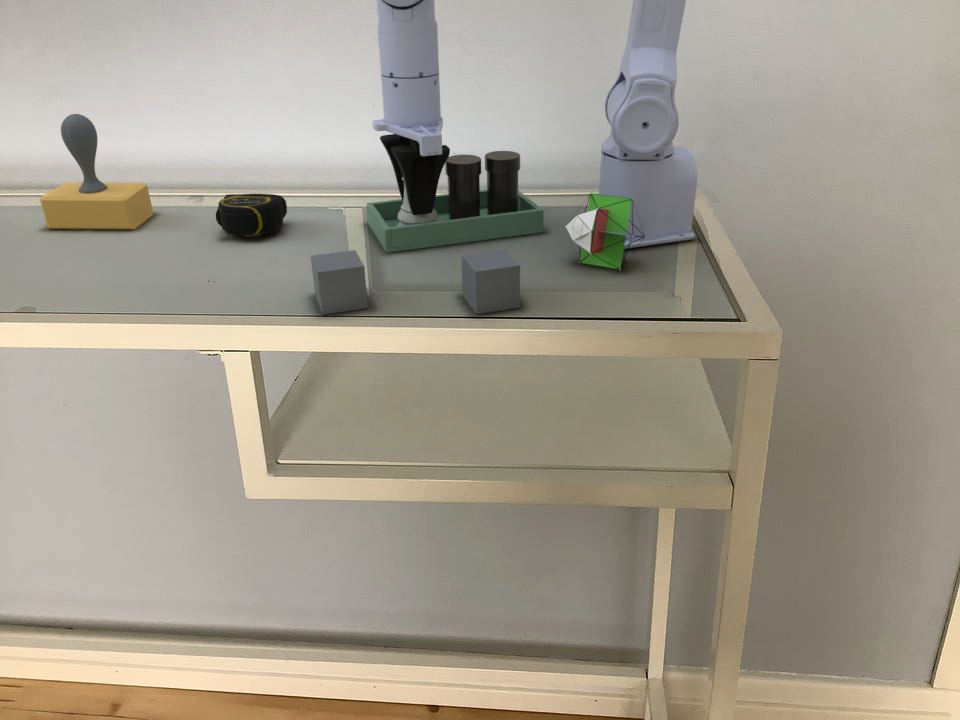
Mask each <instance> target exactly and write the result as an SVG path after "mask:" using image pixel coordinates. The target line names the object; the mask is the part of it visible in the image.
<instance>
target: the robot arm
mask: <svg viewBox="0 0 960 720" xmlns="http://www.w3.org/2000/svg"><path fill="white" fill-rule="evenodd" d="M376 1H377V4H376V10H377V16H378V17H377V18H378V23H377V37H378V49H379V51H378V53H379V66H380V68H379V69H380V79H381V94H382V109H383V110H382V111H383V118H381V119H375V120H372V128H373V129H374V131H375V132H385V131H386V132H387V133H391V134H384V135H380V137H379V140H380V142H381V144H382V145H383V147H384V149H385V151H386V153H387V155H388V158H389V160H390V162H391V165H392V168H393V172H394V176H395V179H396V184H397V187H398V192H399V194H400V199H402V201H403V200H404V182H405V187H406V192H407V197H408V202H409V206H410V209H411V212H412V214H413V215H420V214H428V213H432V211H433V208H434V203H435V197H436V195H437V190H438V186H439V182H440V181H439V180H440V177H441V175H442V171H443V169H444V167H445V162H446V160H447V159H448V157H450V153H451V148H450V147H449V146H448V145H446V144H443V134H442V131H443V127H444V118H443V117H442V114H441V113H442V111H441V110H442V109H441V87H440V84H441V83H440V61H439V60H440V59H439V36H438V35H439V34H438V22H437V19H436V6H435V0H376ZM686 2H687V0H632V7H631V13H630V17H629V18H630V20H629V26H628V32H627V38H626V43H625V48H624V49H623V54H622V57H621V60H620V66H619V72H618V75H617V77H616V79H615V82H614V83H613V85H611V87H610V89H609V91H608V92H607V94H606V97H605V102H604V112H605V117H606V120H607V122H608V124H609V125H610V131H611V132H610V134H609V135H608V137H607V138H606V139H605V140H604V141H603V142H602V143H601V145H600V146H601V147H600V148H601V150H600V167H599V182H598V184H599V185H598V194H600V195H608V196H615V197H623V198H630V199H631V198H633V201H632V203H631V209H630V215H629V220H630V221H631V222H632V206H633V224H634V225H635V226H636V227H637V228H638V229H639V230H640V231H641V232H642V233H643V232H644V233H643V234H644V235H645V236H646V237H644V239H643V238H642V237H633V238H630V237H632V236H626V238H625V239H627V238H629V239H627V240H625V244H624V246H625V247H624V250H627V249H628V247H629V249H633V248H636V247H637V246H638V247H637V248H641V247H648V246H655V245H661V244H662V245H663V244H668V243H676V242H684V241H690V240H691V241H692V240H694V239H695V237H696V234H695V233H693V232H692V230H693V222H694V221H693V220H694V211H695V204H696V203H695V202H696V196H697V195H696V194H697V187H698V186H697V185H698V169H697V165H696V163H697V162H696V160H695V158H694V156H693V154H692V153H691V151H690V150H689V149H688V148H686V147H684V146H678V145H677V146H675V145H674V143H673V141H674V140H675V138H676V136H677V133H678V131H679V124H680V118H679V117H680V116H679V112H678V109H677V106H676V102H675V101H676V100H675V92H676V86H677V77H678V75H677V74H678V73H677V50H678V45H679V40H680V35H681V29H682V23H683V18H684V15H685V14H684V13H685V8H686ZM402 177H403V178H404V181H403V180H402ZM633 203H634V204H633ZM635 208H636V209H635ZM636 211H637V212H636ZM637 214H638V215H637ZM638 217H639V218H638ZM639 220H640V221H639ZM630 221H628V227H627V232H629V233H630V234H632V223H631V222H630ZM640 223H641V224H640ZM634 225H633V235H638V236H644V235H643V234H642V233H641V232H640V231H639V230H638V229H637V228H636V227H635V226H634ZM641 226H642V227H641ZM690 226H692V228H690V229H687V228H689V227H690ZM642 229H643V230H642ZM627 232H626V234H629V233H627ZM640 238H642V239H640ZM631 239H632V241H631ZM638 239H640V240H638ZM636 240H638V241H636ZM634 241H636V242H634ZM630 242H631V243H632V242H634V243H632V244H630ZM640 242H641V243H640ZM628 244H630V246H629V245H628ZM626 245H627V246H626Z"/></svg>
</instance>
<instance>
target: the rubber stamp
mask: <svg viewBox="0 0 960 720" xmlns="http://www.w3.org/2000/svg"><path fill="white" fill-rule="evenodd" d="M60 125H61V126H60V136H61V138H62V141H63V143H64V145H65V146H66V149H67V150H68V152H69V153H70V155H71V156H72V157H73V159H74V160H75V161H76V163H77V165H78V167H79V168H80V170H81V173H82V176H83V181H82V182H65V183H63V184H61V185H59V186H57V187H56V188H54V189H52V190H50V191H49V192H47V193H45V194H43V195H42V196H40V197H39V202H40V206H41V210H42V212H43V213H42V214H43V216H44V219H45V223H46V227H47V229H50V230H125V231H127V230H132V231H134V230H136V229H137V228H139V227H140V226H141V225H143V224H144V223H145V222H146V221H147V220H149V219H150V218H151V217H152V216H154V209H153V206H152V201H151V196H150V192H149V187H148V184H147V183H144V182H102V181H101V180H99V178H98V177H97V174H96V155H97V149H98V133H97V128H96V126H95V124H94V123H93V122H92V121H91V120H90V118H88V117H87V116H85V115H83V114H79V113H72V114H69V115H68V116H66V117H65V118H64V119H63V121H62V122H61V124H60Z"/></svg>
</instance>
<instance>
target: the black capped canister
mask: <svg viewBox="0 0 960 720" xmlns="http://www.w3.org/2000/svg"><path fill="white" fill-rule="evenodd" d="M484 170H485V171H486V189H487V215H493V214H501V213H509V212H518V190H519V171H520V170H521V154H520V153H518V152H516V151H512V150H494V151H490V152H487V153H485V154H484Z"/></svg>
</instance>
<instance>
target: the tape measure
mask: <svg viewBox="0 0 960 720" xmlns="http://www.w3.org/2000/svg"><path fill="white" fill-rule="evenodd" d="M287 213H288V205H287V200H286V199H285V198H284V197H283V196H282V195H279V194H273V193H233V194H232V193H231V194H225V196H224V198H222V199H220V200H219V202H218V206H217V209H216V212H215V220H216V223H217V224H218V225H219V226H220V227H221V228H222V230H223V232H225V233H226V234H229V235H232V236H243V237H244V238H245V237H247V238H249V237H262V235H264V234H268V233H272V232H275V231H277V230H278V229H280V228H281V226H282V225H283V223H284V218H285V217H286V216H287Z"/></svg>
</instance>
